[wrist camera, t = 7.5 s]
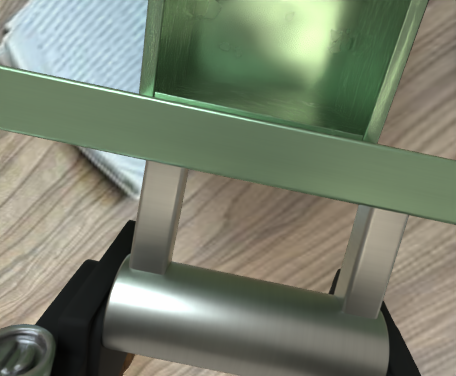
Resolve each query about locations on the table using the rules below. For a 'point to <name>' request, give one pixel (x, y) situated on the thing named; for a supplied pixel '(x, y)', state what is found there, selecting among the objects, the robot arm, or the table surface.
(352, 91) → the bin
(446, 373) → the table surface
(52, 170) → the table surface
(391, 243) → the bin lid
